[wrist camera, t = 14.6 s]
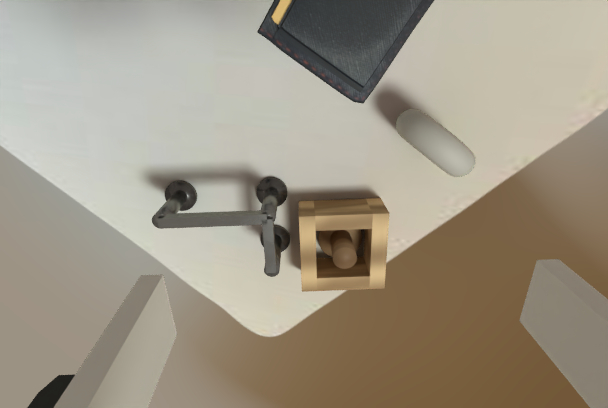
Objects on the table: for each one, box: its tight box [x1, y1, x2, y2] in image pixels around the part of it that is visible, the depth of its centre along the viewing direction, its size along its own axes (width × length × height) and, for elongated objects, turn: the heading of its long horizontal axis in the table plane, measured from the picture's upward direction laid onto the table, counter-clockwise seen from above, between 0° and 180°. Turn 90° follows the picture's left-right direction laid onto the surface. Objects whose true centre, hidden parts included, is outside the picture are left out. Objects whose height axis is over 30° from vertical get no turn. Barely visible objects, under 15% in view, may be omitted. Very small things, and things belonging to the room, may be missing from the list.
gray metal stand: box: [152, 177, 290, 277], centre depth 44 cm, size 11×16×9 cm
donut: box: [396, 109, 475, 177], centre depth 40 cm, size 10×3×10 cm, turn 54°
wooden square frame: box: [299, 198, 389, 291], centre depth 47 cm, size 11×11×5 cm
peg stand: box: [318, 229, 362, 269], centre depth 47 cm, size 6×6×6 cm
